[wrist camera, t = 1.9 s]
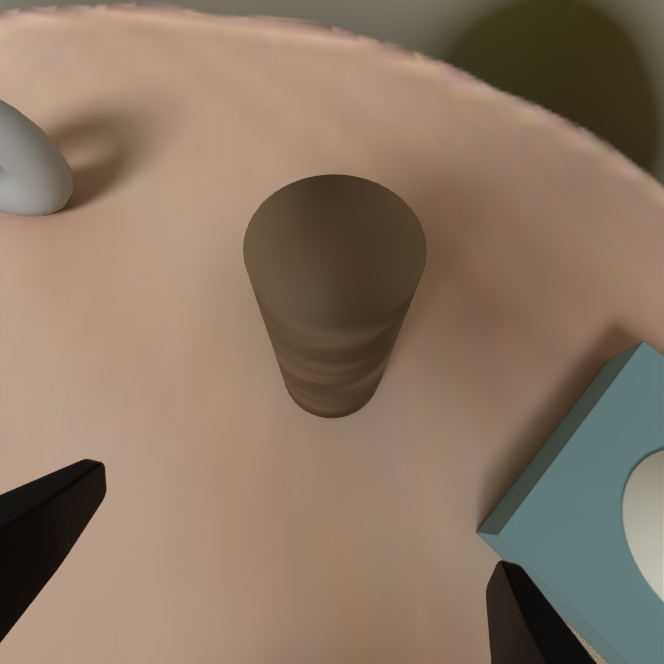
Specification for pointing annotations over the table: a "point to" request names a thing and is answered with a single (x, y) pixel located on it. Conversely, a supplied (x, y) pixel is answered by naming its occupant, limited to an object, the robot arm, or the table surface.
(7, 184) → the donut
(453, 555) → the table surface
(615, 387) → the plinth
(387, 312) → the walnut post
